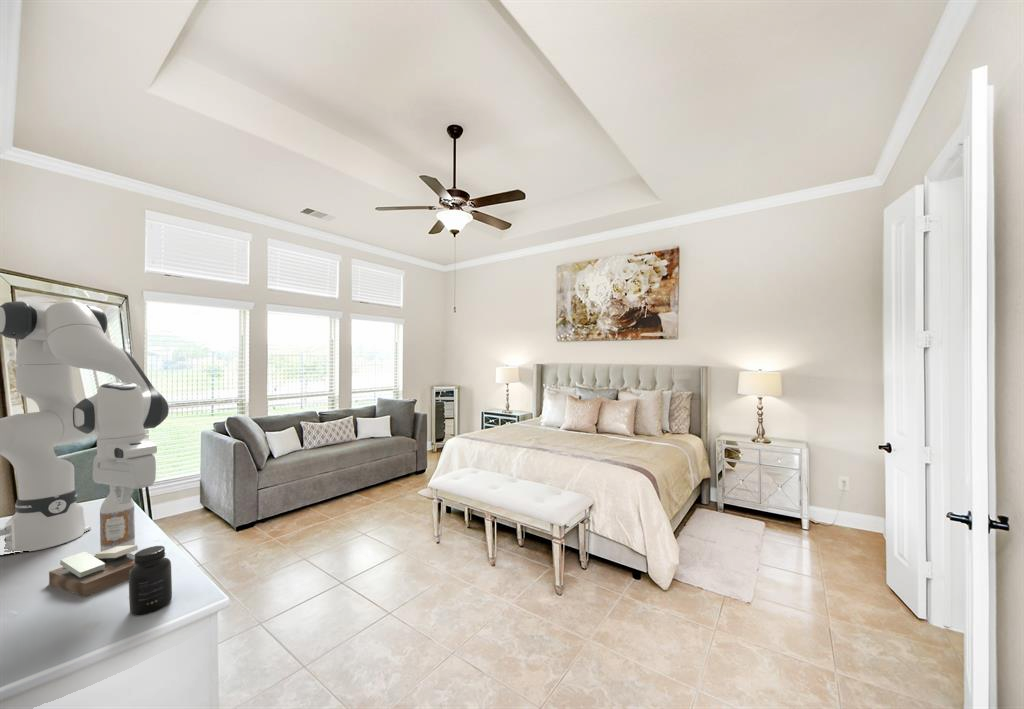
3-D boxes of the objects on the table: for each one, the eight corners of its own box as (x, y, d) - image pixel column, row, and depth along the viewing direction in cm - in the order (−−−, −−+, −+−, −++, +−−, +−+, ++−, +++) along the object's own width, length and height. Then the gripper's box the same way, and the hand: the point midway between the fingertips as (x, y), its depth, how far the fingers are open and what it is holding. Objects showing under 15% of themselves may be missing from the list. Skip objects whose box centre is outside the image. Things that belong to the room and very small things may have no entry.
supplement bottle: (128, 607, 87) (127, 550, 87) (170, 593, 92) (169, 540, 92) (129, 621, 82) (128, 561, 82) (173, 606, 87) (172, 549, 87)
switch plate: (49, 584, 97) (49, 567, 97) (113, 560, 108) (113, 545, 108) (84, 597, 91) (84, 579, 91) (149, 570, 102) (149, 554, 102)
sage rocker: (60, 564, 96) (60, 559, 96) (85, 555, 100) (85, 551, 100) (79, 577, 93) (80, 572, 93) (104, 568, 97) (105, 563, 97)
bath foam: (97, 558, 110) (95, 484, 110) (104, 548, 115) (103, 478, 116) (131, 551, 114) (130, 479, 114) (137, 542, 119) (136, 473, 120)
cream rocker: (95, 558, 102) (95, 553, 102) (118, 550, 106) (117, 546, 106) (115, 557, 99) (115, 552, 99) (137, 549, 103) (137, 544, 103)
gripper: (83, 448, 103) (84, 503, 102) (129, 452, 95) (131, 511, 95) (115, 443, 108) (116, 495, 108) (161, 446, 101) (162, 502, 101)
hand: (123, 502), depth 101 cm, fingers closed
